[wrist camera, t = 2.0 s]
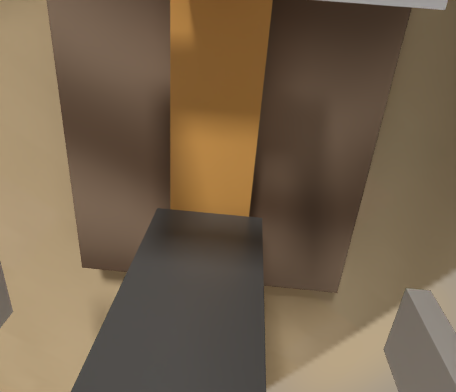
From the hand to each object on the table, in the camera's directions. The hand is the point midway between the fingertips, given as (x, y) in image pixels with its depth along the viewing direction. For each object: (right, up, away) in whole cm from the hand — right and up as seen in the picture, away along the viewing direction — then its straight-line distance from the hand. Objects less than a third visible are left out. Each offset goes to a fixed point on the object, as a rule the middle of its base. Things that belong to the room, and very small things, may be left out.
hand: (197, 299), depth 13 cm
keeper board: (+1, +12, +1) cm, 12 cm away
